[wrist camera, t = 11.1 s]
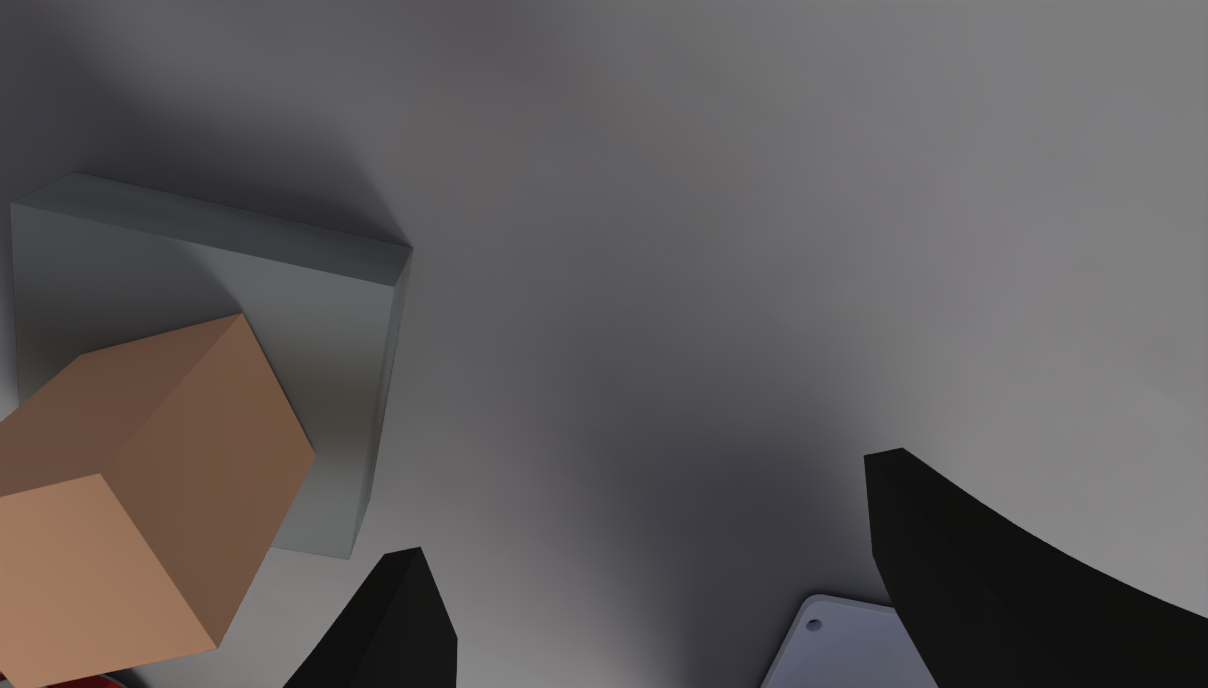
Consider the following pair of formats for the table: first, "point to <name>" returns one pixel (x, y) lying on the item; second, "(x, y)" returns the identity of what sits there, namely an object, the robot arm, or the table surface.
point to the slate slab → (222, 315)
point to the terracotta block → (141, 501)
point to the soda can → (76, 682)
